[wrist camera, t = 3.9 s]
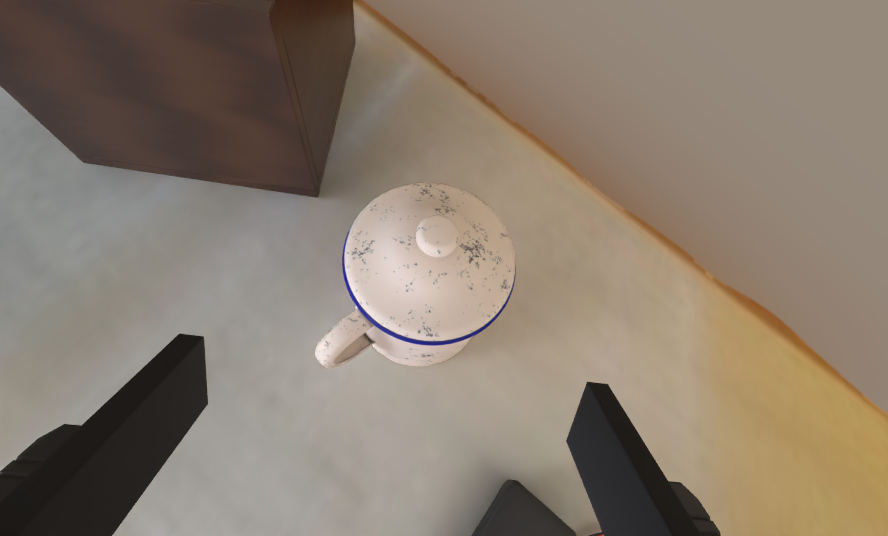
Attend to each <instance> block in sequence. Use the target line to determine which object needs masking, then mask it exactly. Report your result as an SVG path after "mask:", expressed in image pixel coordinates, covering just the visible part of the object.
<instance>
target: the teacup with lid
mask: <svg viewBox="0 0 888 536" xmlns="http://www.w3.org/2000/svg"><path fill="white" fill-rule="evenodd" d="M342 266H343V274H344V279H345V283H346V286H347V289H348V291H349V294H350V296H351V298H352V300H353V301H354V303H355V308H356V310H355V311H354V312H352V313H351V314H349V315H348V316H347V317H345V318H344V319H343V320H341V321H340V322H339V323H338V324H336V325H335V326H334V327H333V328H332V329H330V330H329V331H328V332H327V333H326V334H325V335H324V336H323V338H322V339H321V340H320V341H319V343H318V344H317V346H316V349H315V356H316V358H317V359H318V361H319V362H320V363H321V364H322V365H323V366H324V367H326V368H334V367H338V366H340V365H343V364H345V363H347V362H349V361H350V360H352V359H353V358H355V357H356V356H358V355H359V354H361V353H362V352H363V351H365V350H366V349H367V348H369V347H370V346H371V345H372V346H373V348H374V349H376V350H377V351H378V352H379V353H380V354H382V355H383V356H385V357H386V358H388V359H390V360H392V361H394V362H397V363H400V364H403V365H408V366H429V365H434V364H438V363H441V362H443V361H445V360H447V359H449V358H451V357H453V356H454V355H456V354H457V353H458V352H459V351H460V350H462V349H463V348H464V347H465V345H466V344H467V343H468V342H469V341H470V340H471V339H472V338H473V337H474V335H476V334H478V333H479V332H481V331H483V330H484V329H485V328H486V327H488V326H489V325H490V324H491V323H492V322H493V321H494V320H495V319H496V318H497V317H498V316H499V315H500V313H501V312H502V310H503V309H504V307H505V306H506V304H507V302H508V300H509V298H510V295H511V293H512V290H513V286H514V281H515V272H516V266H515V255H514V249H513V245H512V242H511V239H510V237H509V234H508V232H507V230H506V228H505V227H504V225H503V223H502V222H501V220H500V219H499V218H498V216H497V215H496V214H495V213H494V212H493V211H492V210H491V209H490V208H489V207H488V206H487V205H486V204H485V203H483V202H482V201H481V200H480V199H478V198H477V197H475V196H473V195H472V194H470V193H468V192H466V191H464V190H461V189H459V188H456V187H453V186H449V185H445V184H439V183H414V184H408V185H404V186H400V187H397V188H394V189H392V190H390V191H388V192H385V193H384V194H382V195H380V196H379V197H377V198H376V199H374V200H373V201H372V202H371V203H369V204H368V205H367V206H366V207H365V208H364V209H363V210H362V212H361V213H360V214H359V215H358V217H357V218H356V219H355V221H354V223H353V224H352V226H351V228H350V230H349V232H348V235H347V237H346V240H345V244H344V249H343V258H342Z"/></svg>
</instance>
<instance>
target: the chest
mask: <svg viewBox="0 0 888 536" xmlns="http://www.w3.org/2000/svg"><path fill="white" fill-rule="evenodd" d="M354 47H355V29H354V14H353V0H0V86H1V87H2V88H3V89H5V90H6V91H7V92H8V93H9V94H10V95H11V96H12V97H13V98H14V99H15V100H16V101H17V102H19V103H20V104H21V105H22V106H23V107H24V108H25V109H26V110H27V111H28V112H29V113H30V114H32V115H33V116H34V117H35V118H36V119H37V120H38V121H39V122H40V123H41V124H42V125H43V126H44V127H46V128H47V129H48V130H49V131H50V132H51V133H52V134H53V135H54V136H55V137H56V138H57V139H59V140H60V141H61V142H62V143H63V144H64V145H65V146H66V147H67V148H68V149H69V150H70V151H72V152H73V153H74V154H75V155H76V156H77V157H78V158H79V159H80V160H81V161H82V162H84V163H90V164H97V165H104V166H110V167H117V168H124V169H131V170H137V171H144V172H151V173H158V174H164V175H171V176H178V177H184V178H191V179H198V180H205V181H211V182H218V183H225V184H231V185H238V186H245V187H252V188H258V189H265V190H272V191H278V192H285V193H292V194H299V195H305V196H312V197H318V194H319V190H320V186H321V182H322V177H323V173H324V169H325V165H326V161H327V157H328V153H329V149H330V145H331V141H332V137H333V133H334V128H335V124H336V120H337V116H338V112H339V108H340V104H341V100H342V96H343V92H344V88H345V84H346V80H347V75H348V71H349V67H350V63H351V59H352V55H353V51H354Z"/></svg>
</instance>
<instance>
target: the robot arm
mask: <svg viewBox="0 0 888 536" xmlns="http://www.w3.org/2000/svg"><path fill="white" fill-rule="evenodd" d="M207 404H208V396H207V380H206V364H205V347H204V337H203V336H194V335H186V334H179V335H178V336H176V337H175V338H174V339H173V340H172V341H171V342H170V343H169V344H168V345H167V346H166V347H165V348H164V349H163V350H162V351H161V352H159V353H158V354H157V355H156V356H155V357H154V358H153V359H152V360H151V361H150V362H149V363H148V364H147V365H146V366H145V367H143V368H142V369H141V370H140V371H139V372H138V373H137V374H136V375H135V376H134V377H133V378H132V379H131V380H130V381H129V382H128V383H126V384H125V385H124V386H123V387H122V388H121V389H120V390H119V391H118V392H117V393H116V394H115V395H114V396H113V397H112V398H111V399H109V400H108V401H107V402H106V403H105V404H104V405H103V406H102V407H101V408H100V409H99V410H98V411H97V412H96V413H95V414H94V415H92V416H91V417H90V418H89V419H88V420H87V421H86V422H85V423H84V424H83V425H82V426H79V425H69V424H64V425H62V426H60V427H58V428H57V429H55V430H53V431H51V432H49V433H47V434H46V435H44V436H42V437H40V438H38V439H37V440H36V441H35V442H34V443H33V444H31V445H30V446H29V447H28V448H27V449H26V450H24V451H23V452H22V453H21V454H20V455H19V456H18V457H17V459H16V460H13V461H12V462H11V463H10V464H8V465H7V466H6V467H5V468H4V469H3V470H1V471H0V536H112V535H113V534H114V532H115V531H116V530H117V528H118V527H119V525H120V524H121V523H122V521H123V520H124V519H125V517H126V516H127V514H128V513H129V512H130V510H131V509H132V508H133V506H134V505H135V503H136V502H137V501H138V499H139V498H140V497H141V495H142V494H143V492H144V491H145V490H146V488H147V487H148V486H149V484H150V483H151V481H152V480H153V479H154V477H155V476H156V474H157V473H158V472H159V470H160V469H161V468H162V466H163V465H164V463H165V462H166V461H167V459H168V458H169V457H170V455H171V454H172V452H173V451H174V450H175V448H176V447H177V446H178V444H179V443H180V441H181V440H182V439H183V437H184V436H185V435H186V433H187V432H188V430H189V429H190V428H191V426H192V425H193V424H194V422H195V421H196V419H197V418H198V417H199V415H200V414H201V413H202V411H203V410H204V408H205V407H206V406H207ZM566 441H567V444H568V446H569V449H570V451H571V454H572V456H573V459H574V461H575V464H576V466H577V469H578V471H579V474H580V477H581V479H582V482H583V484H584V487H585V489H586V492H587V494H588V497H589V499H590V502H591V504H592V507H593V509H594V512H595V514H596V517H597V519H598V522H599V524H600V527H601V529H602V532H603V534H604V536H721V535H720V531H719V530H718V528H717V527H716V525H715V524H714V522H713V521H711V520H710V516H709V515H708V513H707V512H706V510H705V509H704V507H703V506H702V504H701V503H700V502H699V500H698V499H697V498H696V497H695V496H694V495H693V494H692V493H691V492H690V491H689V490H688V489H687V488H686V487H685V486H684V485H683V484H682V483H680V482H669V481H668V480H667V479H666V477H665V475H664V474H663V472H662V471H661V469H660V467H659V466H658V464H657V463H656V461H655V459H654V458H653V456H652V455H651V453H650V451H649V450H648V448H647V447H646V445H645V443H644V442H643V440H642V439H641V437H640V435H639V434H638V432H637V430H636V429H635V427H634V426H633V424H632V422H631V421H630V419H629V418H628V416H627V414H626V413H625V411H624V410H623V408H622V406H621V405H620V403H619V402H618V400H617V398H616V397H615V395H614V394H613V392H612V390H611V389H610V387H609V385H608V384H601V383H593V382H587V384H586V387H585V390H584V392H583V395H582V398H581V401H580V404H579V407H578V409H577V412H576V415H575V418H574V421H573V423H572V426H571V429H570V432H569V435H568V437H567V440H566Z"/></svg>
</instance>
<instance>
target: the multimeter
mask: <svg viewBox="0 0 888 536" xmlns="http://www.w3.org/2000/svg"><path fill="white" fill-rule="evenodd" d="M603 535H604V534H603V532H600V533H596V534H593V535H589V536H603ZM472 536H576V534H575V532H574V531H573V530H572V529H571V528H570V527H569V526H568V525H566V524H565V523H564V522H563V521H562V520H561V519H560V518H559V517H557V516H556V515H555V514H554V513H553V512H552V511H551V510H550V509H548V508H547V507H546V506H545V505H544V504H543V503H542V502H541V501H539V500H538V499H537V498H536V497H535V496H534V495H533V494H532V493H530V492H529V491H528V490H527V489H526V488H525V487H524V486H523V485H521V484H520V483H519V482H518V481H516V480H508V481H506V482H505V483H504V484H503V486H502V487H501V489H500V491H499V492H498V494H497V496H496V497H495V499H494V501H493V502H492V504H491V506H490V507H489V509H488V511H487V512H486V514H485V516H484V517H483V519H482V520H481V522H480V523H479V525H478V526H477V528H476V529H475V531H474V533H473V534H472Z"/></svg>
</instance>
